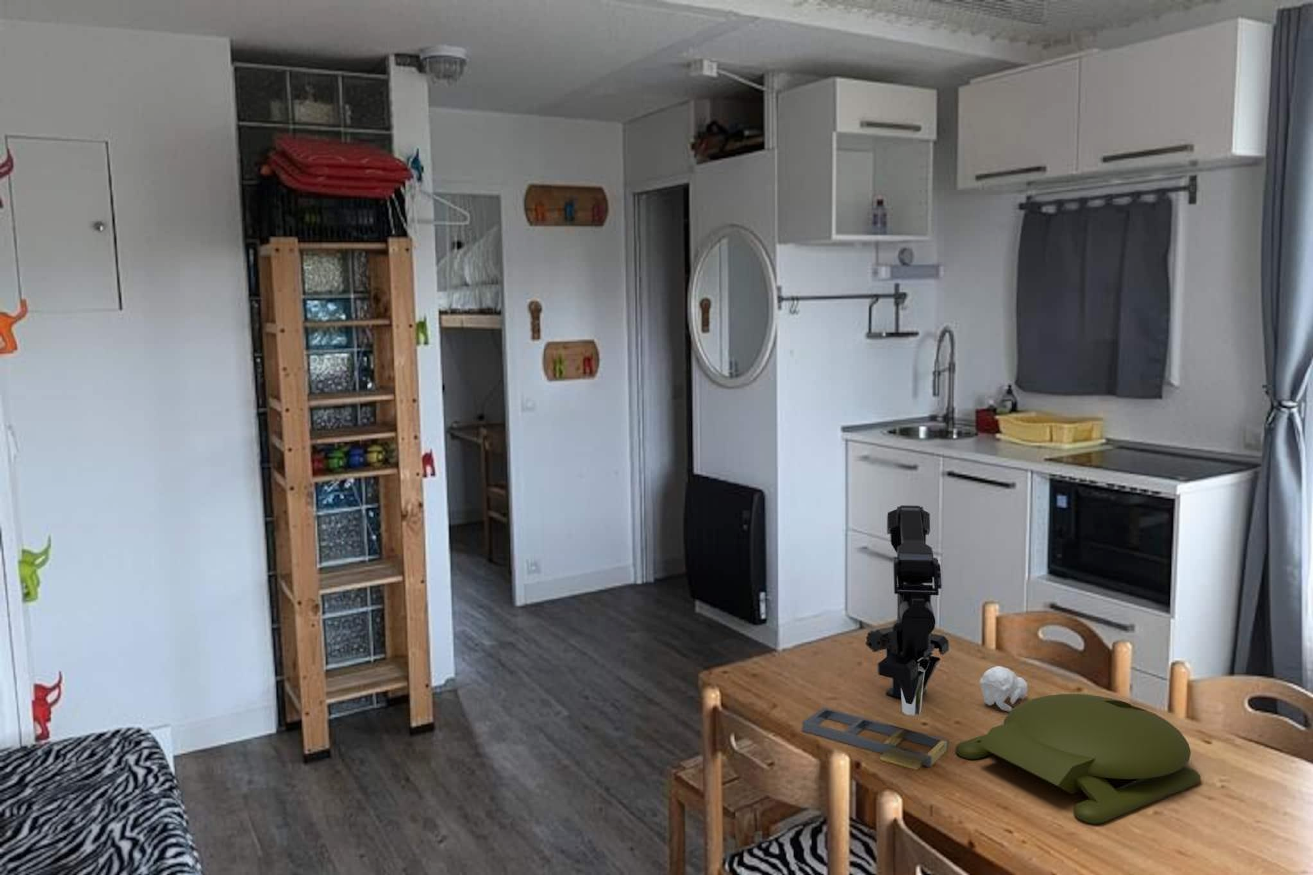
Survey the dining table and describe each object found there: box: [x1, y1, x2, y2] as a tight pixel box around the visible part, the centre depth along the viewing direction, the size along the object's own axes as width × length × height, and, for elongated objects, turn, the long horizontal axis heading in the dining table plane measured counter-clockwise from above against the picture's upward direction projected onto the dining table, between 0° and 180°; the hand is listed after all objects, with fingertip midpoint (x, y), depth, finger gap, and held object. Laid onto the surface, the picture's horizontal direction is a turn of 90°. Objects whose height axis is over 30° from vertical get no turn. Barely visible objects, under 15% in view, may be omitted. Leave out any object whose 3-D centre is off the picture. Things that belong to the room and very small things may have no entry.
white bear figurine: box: [979, 665, 1028, 713], centre depth 199 cm, size 6×8×12 cm
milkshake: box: [900, 661, 930, 717], centre depth 178 cm, size 5×5×10 cm
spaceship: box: [955, 693, 1202, 825], centre depth 173 cm, size 35×31×10 cm
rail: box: [802, 706, 949, 771], centre depth 184 cm, size 13×26×2 cm, turn 52°
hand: (913, 699), depth 178 cm, fingers closed on milkshake, 4 cm apart
